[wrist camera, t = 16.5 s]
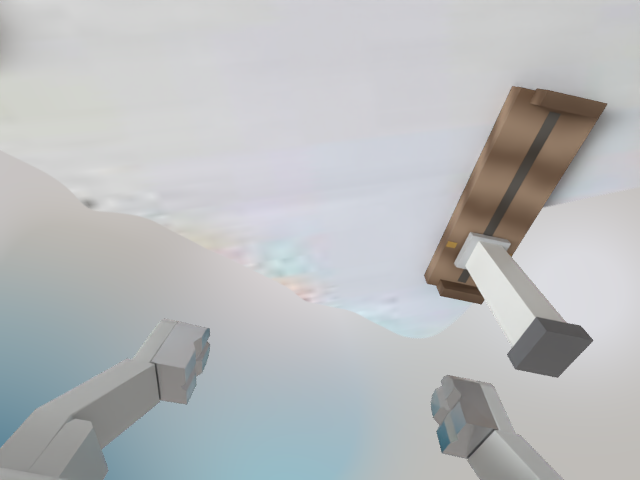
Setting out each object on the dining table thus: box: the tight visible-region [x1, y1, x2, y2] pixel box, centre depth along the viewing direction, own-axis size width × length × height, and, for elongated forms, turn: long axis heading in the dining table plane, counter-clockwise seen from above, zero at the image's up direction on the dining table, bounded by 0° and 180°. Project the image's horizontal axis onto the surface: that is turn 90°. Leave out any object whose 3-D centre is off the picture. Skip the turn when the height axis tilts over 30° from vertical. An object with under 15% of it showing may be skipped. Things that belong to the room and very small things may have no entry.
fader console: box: [424, 86, 607, 304], centre depth 38 cm, size 26×9×4 cm, turn 169°
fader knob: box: [454, 232, 593, 377], centre depth 33 cm, size 5×5×17 cm
